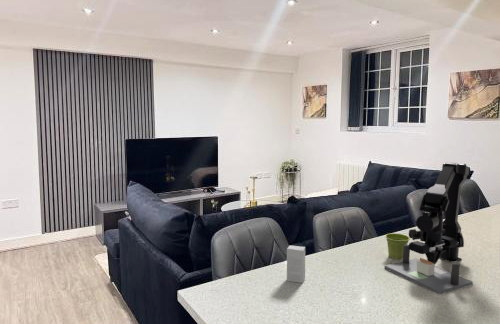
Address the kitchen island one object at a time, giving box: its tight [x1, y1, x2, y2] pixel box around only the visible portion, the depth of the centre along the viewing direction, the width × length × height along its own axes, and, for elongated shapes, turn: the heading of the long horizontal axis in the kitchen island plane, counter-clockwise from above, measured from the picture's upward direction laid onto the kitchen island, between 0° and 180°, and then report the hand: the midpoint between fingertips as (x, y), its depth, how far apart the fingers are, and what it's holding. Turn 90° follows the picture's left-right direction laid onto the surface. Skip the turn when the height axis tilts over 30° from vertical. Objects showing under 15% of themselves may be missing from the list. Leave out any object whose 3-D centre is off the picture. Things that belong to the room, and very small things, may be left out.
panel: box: [384, 258, 474, 295], centre depth 140 cm, size 17×24×1 cm
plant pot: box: [385, 232, 411, 260], centre depth 159 cm, size 9×9×9 cm
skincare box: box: [286, 245, 306, 284], centre depth 137 cm, size 6×4×12 cm
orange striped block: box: [417, 257, 436, 276], centre depth 140 cm, size 3×5×5 cm, turn 26°
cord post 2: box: [450, 262, 461, 285], centre depth 131 cm, size 2×2×7 cm
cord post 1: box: [402, 244, 411, 264], centre depth 150 cm, size 2×2×7 cm
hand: (431, 267), depth 141 cm, fingers closed
